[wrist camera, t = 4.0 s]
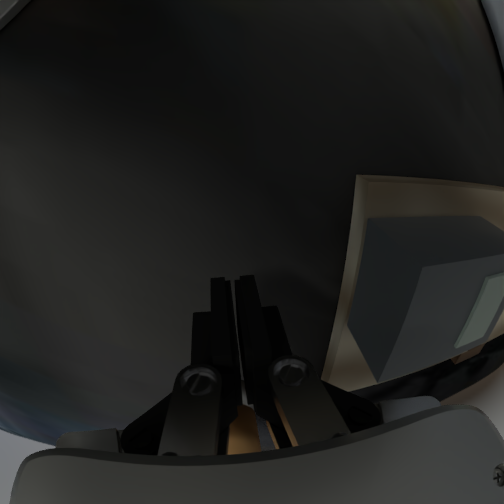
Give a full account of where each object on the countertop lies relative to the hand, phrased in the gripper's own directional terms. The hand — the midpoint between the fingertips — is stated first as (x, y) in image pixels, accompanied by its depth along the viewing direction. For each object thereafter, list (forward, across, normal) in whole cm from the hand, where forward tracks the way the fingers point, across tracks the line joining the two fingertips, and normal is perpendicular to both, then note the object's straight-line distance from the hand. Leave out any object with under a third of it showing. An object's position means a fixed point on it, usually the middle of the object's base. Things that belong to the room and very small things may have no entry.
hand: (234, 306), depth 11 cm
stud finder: (+1, -10, 0) cm, 10 cm away
